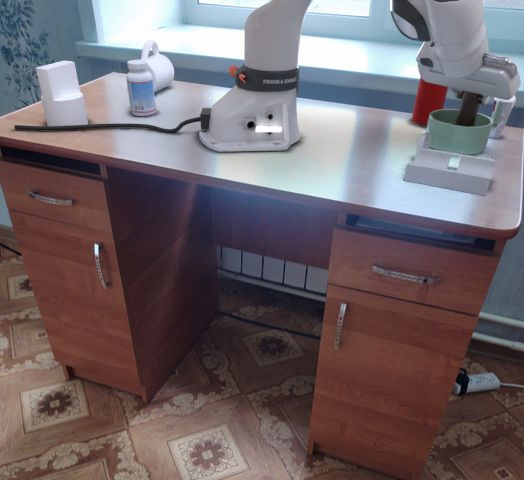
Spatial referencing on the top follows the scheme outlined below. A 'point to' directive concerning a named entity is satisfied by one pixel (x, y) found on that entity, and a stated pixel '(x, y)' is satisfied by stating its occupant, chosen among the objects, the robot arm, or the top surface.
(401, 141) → the top surface
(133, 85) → the pill bottle
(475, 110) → the pestle
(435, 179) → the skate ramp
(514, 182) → the top surface
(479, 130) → the bowl
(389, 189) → the top surface
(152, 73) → the mug
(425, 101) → the beverage can
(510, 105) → the milkshake
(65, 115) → the white stepped block
